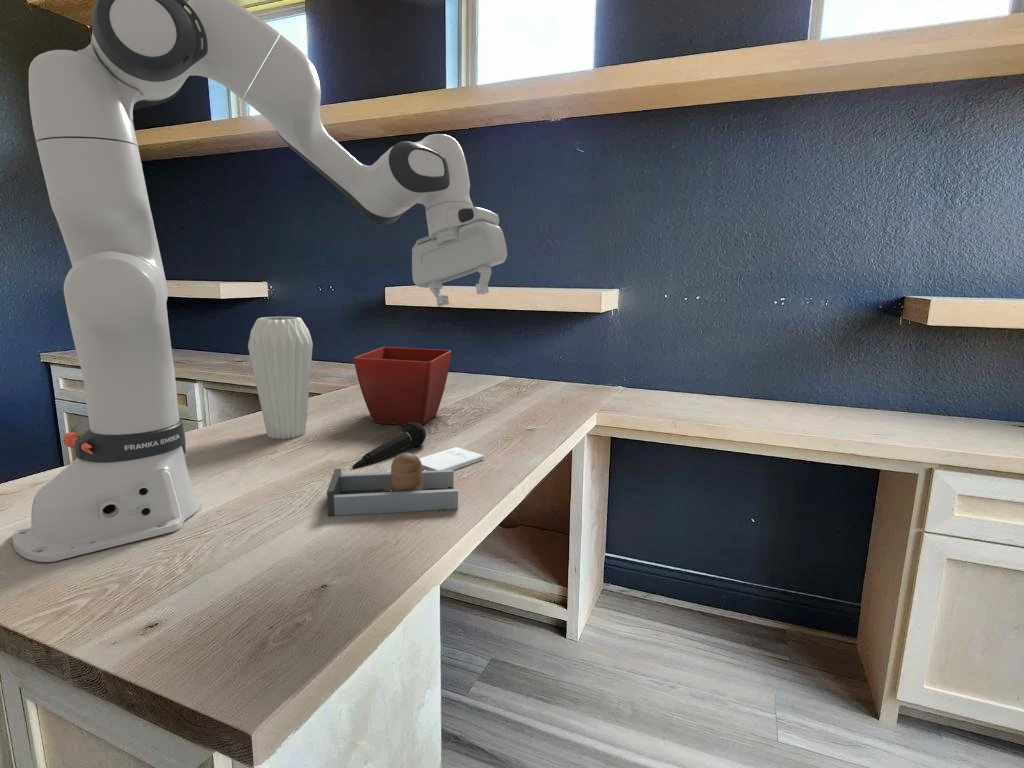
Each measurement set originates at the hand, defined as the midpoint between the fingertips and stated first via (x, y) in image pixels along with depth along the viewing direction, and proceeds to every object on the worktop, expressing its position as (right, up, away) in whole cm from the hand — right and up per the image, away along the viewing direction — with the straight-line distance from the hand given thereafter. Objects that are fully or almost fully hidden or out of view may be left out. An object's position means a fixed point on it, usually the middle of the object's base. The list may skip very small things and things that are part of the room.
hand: (462, 299), depth 104 cm
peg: (-8, -35, -10) cm, 37 cm away
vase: (-42, -27, +25) cm, 56 cm away
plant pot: (-18, -25, +40) cm, 50 cm away
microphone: (-16, -30, +13) cm, 37 cm away
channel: (-10, -35, -10) cm, 38 cm away
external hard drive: (-4, -32, +9) cm, 33 cm away
